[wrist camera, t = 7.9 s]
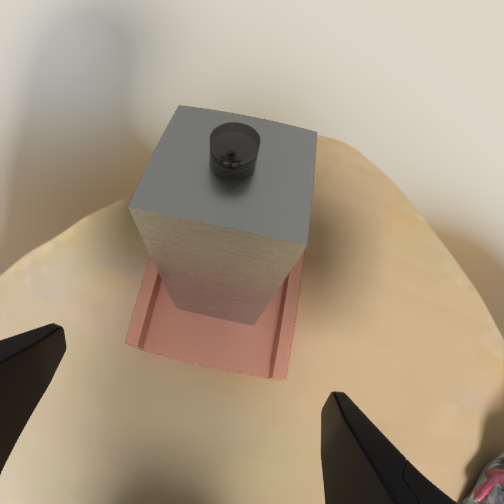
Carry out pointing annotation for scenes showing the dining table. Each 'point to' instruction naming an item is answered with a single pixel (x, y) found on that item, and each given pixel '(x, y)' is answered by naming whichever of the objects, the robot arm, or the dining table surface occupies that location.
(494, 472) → the brake caliper
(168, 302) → the tray
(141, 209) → the knobbed tall block
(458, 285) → the dining table surface
